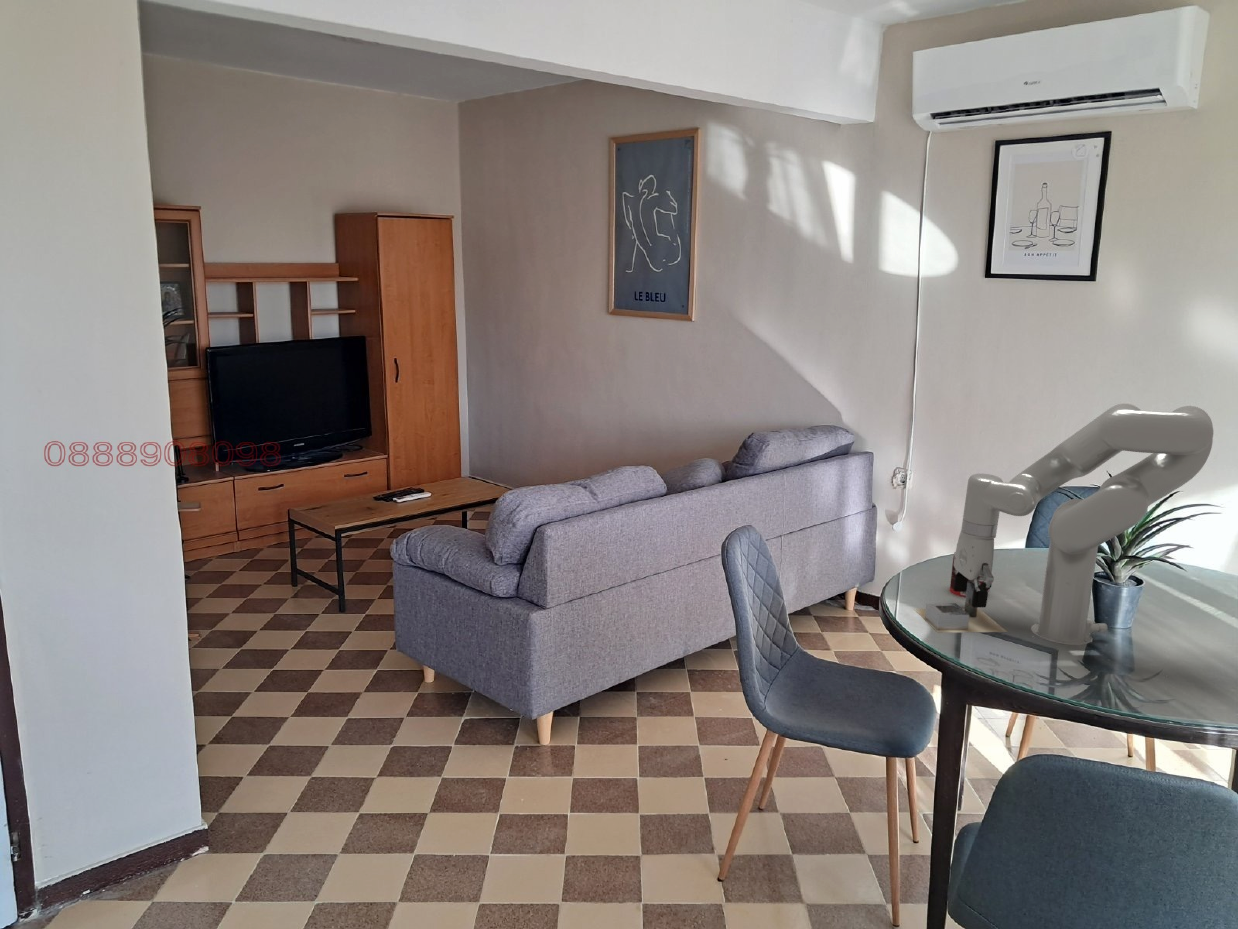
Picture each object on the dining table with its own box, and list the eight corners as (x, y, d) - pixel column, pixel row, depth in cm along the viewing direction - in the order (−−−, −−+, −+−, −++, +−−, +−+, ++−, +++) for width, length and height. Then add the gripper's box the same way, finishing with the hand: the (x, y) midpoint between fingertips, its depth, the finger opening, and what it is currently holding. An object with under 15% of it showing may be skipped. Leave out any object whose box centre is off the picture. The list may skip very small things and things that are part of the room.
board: (978, 613, 226) (978, 608, 226) (1006, 636, 212) (1007, 631, 212) (913, 614, 225) (913, 609, 224) (937, 637, 211) (938, 632, 211)
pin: (973, 612, 223) (976, 580, 221) (978, 617, 220) (982, 584, 219) (961, 612, 223) (965, 580, 221) (967, 617, 220) (970, 584, 218)
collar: (954, 617, 220) (955, 603, 219) (967, 629, 213) (969, 614, 212) (924, 618, 219) (926, 603, 218) (937, 629, 212) (939, 615, 211)
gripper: (947, 517, 225) (938, 585, 229) (980, 539, 208) (970, 613, 212) (977, 517, 226) (968, 585, 230) (1013, 540, 209) (1002, 613, 213)
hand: (969, 598), depth 221 cm, fingers open, 9 cm apart
